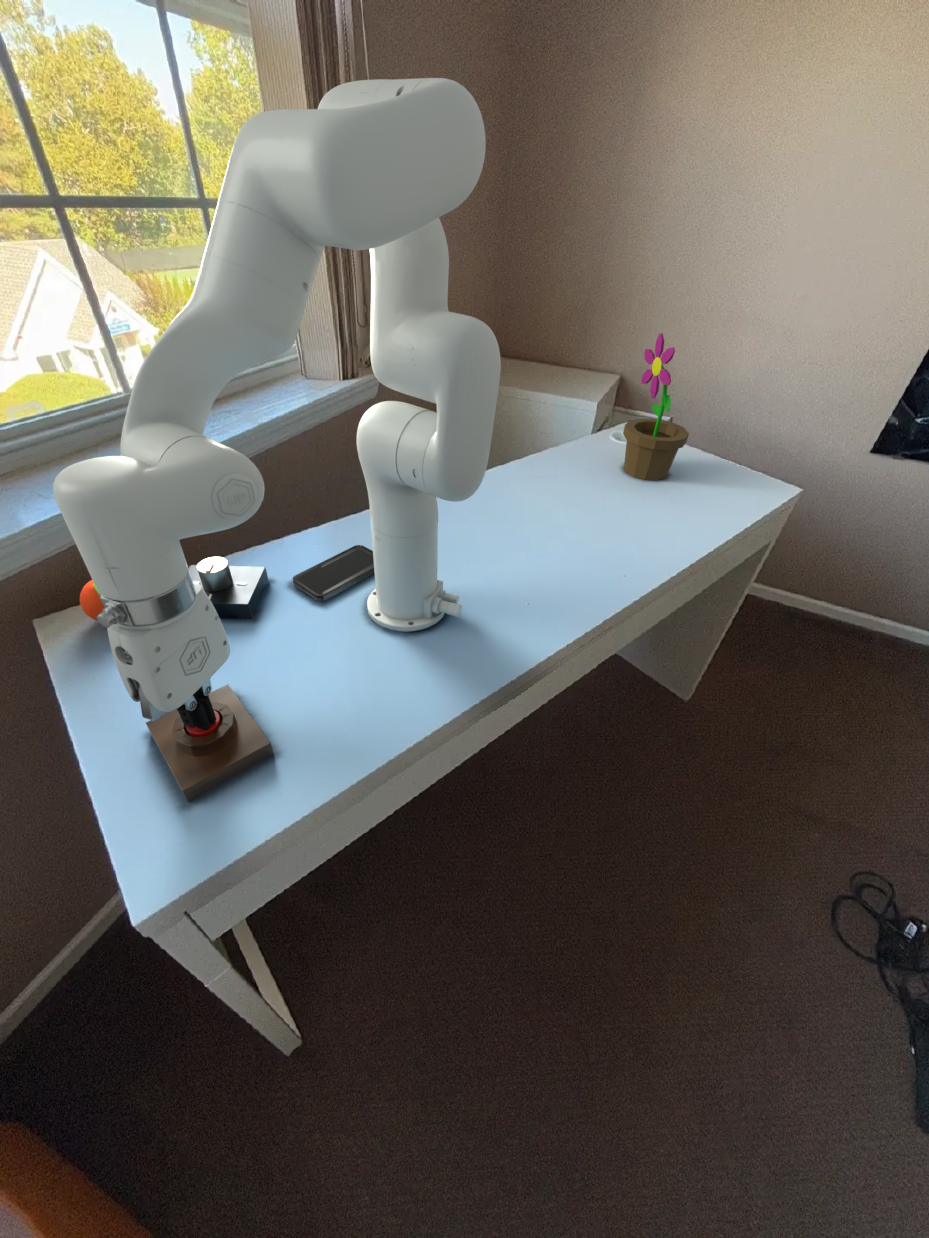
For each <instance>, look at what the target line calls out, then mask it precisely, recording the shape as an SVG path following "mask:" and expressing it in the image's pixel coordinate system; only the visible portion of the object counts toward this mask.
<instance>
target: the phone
mask: <svg viewBox="0 0 929 1238" xmlns="http://www.w3.org/2000/svg"><path fill="white" fill-rule="evenodd" d="M373 575H375V572H374V559H373V549H370V548H368V547H366V546H364V545H362V544H356V545H353V546H352V547H349V548H347V549H346V550H344V551H341V552H339V553H337V554H335V555H333V556H331V557H329V558H327V559H324V560H323V561H321V562H319V563H317V564H315V565H313V566H311V567H309V568H307V569H305V570H303V571H301V572H299V573H297V574H295V575H293V577H292V583H293V586H294V587H295V588H296V589H298V590H300V591H301V592H303V593H304V594H305V595H307V596H308V597H311V598H312V599H313V600H315V601H317V602H325V601H327V600H329V599H331V598H332V597H335V596H336V595H338V594H340V593H342V592H344V591H345V590H347V589H349V588H350V587H353V586H355V585H356V584H358V583H361V582H362V581H364V580H365V579H367V578H369V577H370V576H373Z"/></svg>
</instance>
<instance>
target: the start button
mask: <svg viewBox="0 0 929 1238" xmlns="http://www.w3.org/2000/svg"><path fill="white" fill-rule="evenodd" d="M213 711H214V710H213ZM214 714H215V716H216V719H217V720H216V721H215V722H214V723H213V724H210V728H209V729H208V730H203V729H200V728H197V727H195V728H191V727H188V726H186V728H187V731H188V733H189V735H190V736H192V737H195V738H196V737H204V736H207V735H209V734H211V733H213V732H215V731H216V730H217V729H218V728H219V727H220V726H221V724H222V721H221V719H220V716H219V714H218V713H217V712H216V711H214Z"/></svg>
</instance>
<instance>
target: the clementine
mask: <svg viewBox="0 0 929 1238" xmlns="http://www.w3.org/2000/svg"><path fill="white" fill-rule="evenodd" d="M99 597H100V595H99V592H98V590H97V588H96V586H95V584H94V582H93V580H92V579H91V580H89V581H88V582H87V583H86V584H85V585H83V587H82V589H81V591H80V593H79V604H80V607H81V609H82V611H83V613H85V615H86V616H87V617H89V618H90V619H91V620H93V621H96V622H98V621H97V619H96V617H97V616H98V615H99V614H101V613H102V610H103V609H104V606H103V604H102V602H101V600H100V598H99Z"/></svg>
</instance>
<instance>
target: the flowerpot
mask: <svg viewBox="0 0 929 1238" xmlns="http://www.w3.org/2000/svg"><path fill="white" fill-rule="evenodd" d="M654 345H655V346H654V351H653V350H652V349H651V348H650V349H649V348H645V349H644V352H643V356H644V357H643V358H644V361H645V362H646V363H647V364H648V365H651V368H647V369H646V370H645V372H643V373H642V377H641V380H640V382H641V385H645V384H649V383H650V388H649V389H650V390H649V392H650V397H651V399H656V397H657V395H658V393H659V389H660V382H661V383H662V393H661V403H660V405H659V404H655V405H652V406H651V408H650V409H651V410H652V411H653V412H654V414H655V415H656V416H657V418H645V417H640V418H636V419H630V420H628V421H627V422H626V423H625V424H624V428H623V431H622V435H623V437H624V439H625V440H626V443H625V454H624V462H623V469H624V472H625V473H626V474H627V475H629V476H630V477H633V478H636V479H639V480H643V481H660V480H663V479H665V478H666V477H667V476H668V474H669V472H670V469H671V467H672V465H673V462H674V460H675V458H676V456H677V454H678V452H679V449H682V448H683V447H684V446H685V445H686V444H687V441H688V438H689V435H690V432H688V431H687V429H686V428H685V427H684V426H682V425H680V424H677V423H675V422H672V421H668V420H664V419H663V415H664V411H665V412H666V413H669V412H670V408H671V403H672V399H671V396H670V394H668V387H669V386H670V385H671V382H672V379H671V378H672V377H671V373H670V372H669V371H668V369H667V368H665V367H664V365H667V364H669V363H670V362H671V361H672V360H673V357H674V355H675V352H676V350H675V347H674V346H673V347H667V348H666V349H665V351H664V347H665V337H664V333H663V332H661V333H659V334H658V336H657V338H656V340H655V344H654Z"/></svg>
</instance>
